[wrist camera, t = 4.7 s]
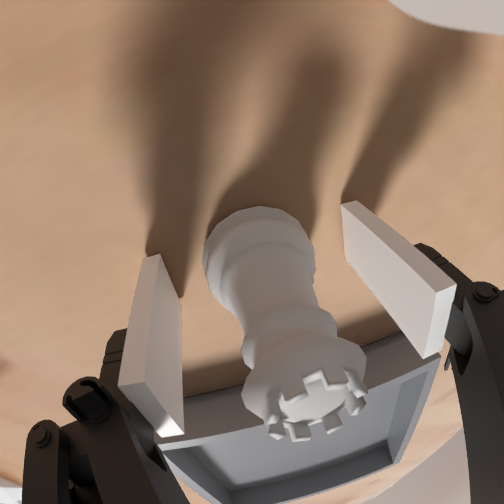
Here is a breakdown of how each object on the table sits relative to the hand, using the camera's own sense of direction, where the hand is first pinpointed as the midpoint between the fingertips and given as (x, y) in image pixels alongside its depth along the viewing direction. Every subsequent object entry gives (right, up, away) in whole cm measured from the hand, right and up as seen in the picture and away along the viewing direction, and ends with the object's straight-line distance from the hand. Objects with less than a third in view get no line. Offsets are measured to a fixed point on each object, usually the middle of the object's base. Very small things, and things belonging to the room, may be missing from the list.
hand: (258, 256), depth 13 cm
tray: (+3, -14, +8) cm, 17 cm away
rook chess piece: (0, 0, 0) cm, 0 cm away
